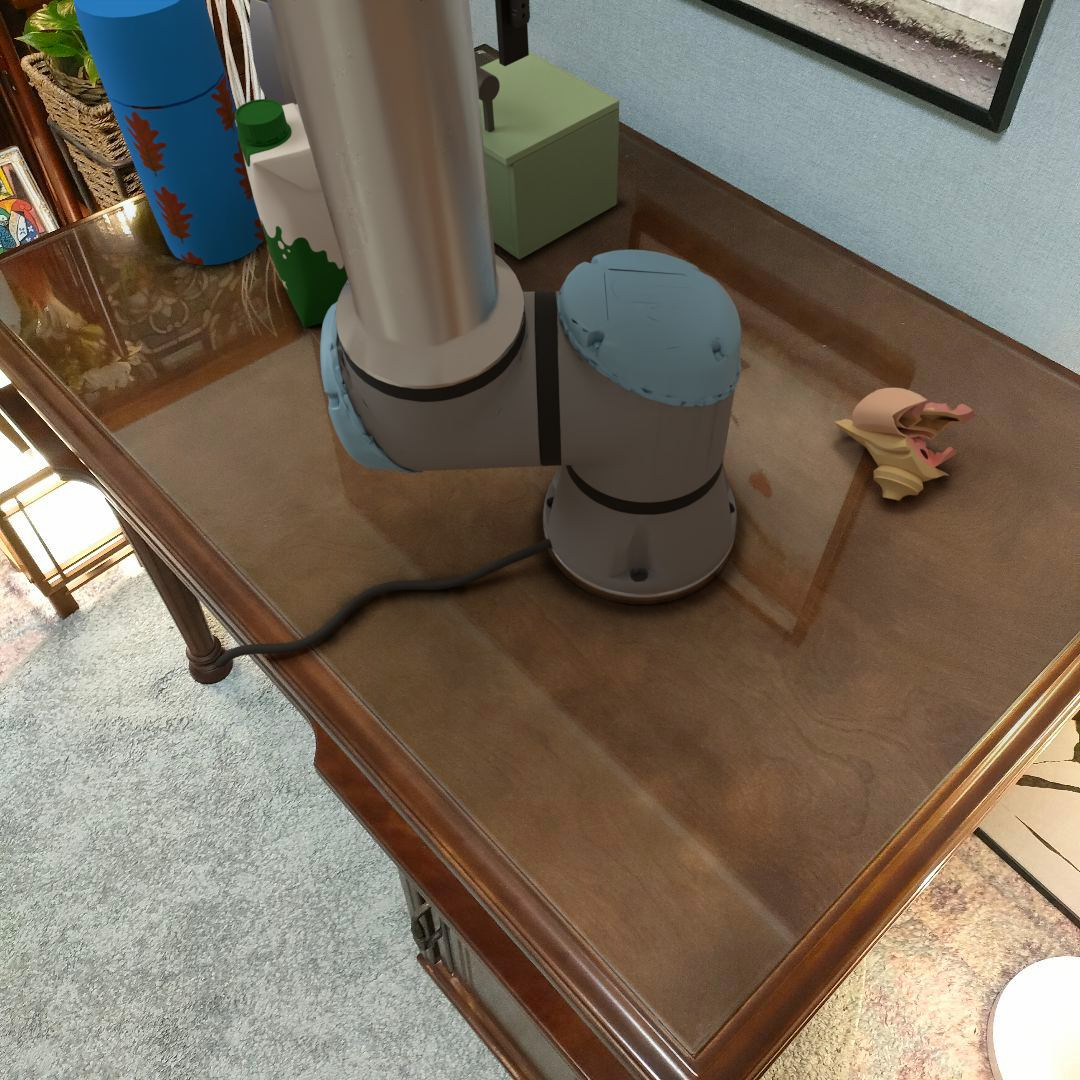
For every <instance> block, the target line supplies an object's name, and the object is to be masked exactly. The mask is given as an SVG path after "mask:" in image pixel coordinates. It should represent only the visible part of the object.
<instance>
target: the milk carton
mask: <svg viewBox="0 0 1080 1080" xmlns="http://www.w3.org/2000/svg"><path fill="white" fill-rule="evenodd" d="M236 109H237V110H236V112H235V121H236V125H237V130H238V135H239V141H240V146H241V149H242V151H243V156H244V160H245V165H246V169H247V173H248V177H249V181H250V185H251V189H252V193H253V197H254V200H255V204H256V207H257V211H258V214H259V217H260V221H261V224H262V227H263V231H264V234H265V238H264V239H265V240H266V244H267V248H268V251H269V254H270V257H271V259H272V262H273V264H274V266H275V269H276V272H277V275H278V277H279V279H280V282H281V283H282V285H283V288H284V289H285V291H286V293H287V296H288V298H289V300H290V302H291V304H292V306H293V309H294V310H295V312H296V314H297V317H298V318H299V320H300V322H301V324H302V326H303V328H304V329H306V328H309V327H313V326H317V325H321V324H323V321H324V318H325V316H326V313H327V312H328V310H329V308H330V307H331V306H332V305H333V304H335V303H336V302H338V298H339V296H340V293H341V291H342V289H343V287H344V285H345V283H346V282H347V280H348V277H347V273H346V270H345V266H344V263H343V259H342V256H341V252H340V249H339V245H338V242H337V239H336V235H335V232H334V228H333V225H332V221H331V218H330V215H329V211H328V208H327V204H326V201H325V197H324V194H323V191H322V187H321V184H320V180H319V177H318V173H317V170H316V167H315V163H314V160H313V156H312V153H311V149H310V146H309V143H308V139H307V136H306V132H305V129H304V125H303V122H302V118H301V115H300V112H299V108H298V105H297V104H296V105H295V104H294V103H291V104H287V105H283V106H282V105H281V104H280V103H278V102H277V101H274V100H270V99H267V98H260V99H253V100H250V101H247V102H244V103H243V104H241V105H240V106H238V107H237V108H236Z"/></svg>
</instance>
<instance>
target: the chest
mask: <svg viewBox="0 0 1080 1080" xmlns="http://www.w3.org/2000/svg"><path fill="white" fill-rule="evenodd" d="M619 132H620V107H619V108H618V109H616V110H614V111H612V112H610V113H608V114H606V115H604V116H602V117H600V118H598V119H596V120H594V121H593V122H591V123H589V124H587V125H585V126H583V127H581V128H579V129H577V130H575V131H573V132H571V133H569V134H568V135H566V136H564V137H562V138H560V139H558V140H556V141H554V142H552V143H550V144H548V145H546V146H544V147H542V148H541V149H539V150H537V151H535V152H533V153H531V154H529V155H527V156H525V157H523V158H521V159H519V160H517V161H516V162H514V163H512V164H510V165H508V166H506V165H504V164H503V163H501V162H499V161H498V160H496V159H495V158H493V157H492V156H490V155H488V154H487V153H485V152H484V153H485V162H486V172H487V182H488V192H489V202H490V211H491V221H492V231H493V241H494V244H496V245H498V246H499V247H501V248H502V249H503V250H504V251H506V252H507V253H509V254H510V255H512V256H513V257H515V258H516V259H518V260H521V259H524V257H526V256H528V255H530V254H532V253H533V252H535V251H537V250H539V249H541V248H542V247H544V246H546V245H548V244H549V243H552V242H553V241H554V240H557V239H559V238H560V237H562V236H564V235H565V234H567V233H569V232H571V231H573V230H574V229H576V228H578V227H579V226H582V225H583V224H585V223H586V222H588V221H590V220H592V219H593V218H595V217H597V216H599V215H600V214H602V213H604V212H606V211H608V210H609V209H611V208H613V207H615V206H617V204H618V176H619V175H618V174H619V171H618V170H619V137H620V136H619V135H620V133H619Z"/></svg>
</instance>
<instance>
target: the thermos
mask: <svg viewBox="0 0 1080 1080" xmlns="http://www.w3.org/2000/svg"><path fill="white" fill-rule="evenodd" d="M72 3H73V6H74V10H75V13H76V18H77V22H78V25H79V26H80V30H81V33H82V35H83V38H84V40H85V43H86V45H87V48H88V50H89V53H90V56H91V58H92V60H93V64H94V66H95V68H96V71H97V73H98V76H99V78H100V81H101V84H102V86H103V88H104V91H105V93H106V96H107V99H108V101H109V104H110V107H111V110H112V112H113V114H114V117H115V119H116V121H117V125H118V126H119V129H120V132H121V134H122V137H123V140H124V142H125V145H126V147H127V150H128V153H129V155H130V158H131V160H132V163H133V164H134V167H135V171H136V173H137V175H138V178H139V180H140V183H141V185H142V188H143V191H144V194H145V195H146V199H147V201H148V203H149V206H150V209H151V211H152V213H153V216H154V219H155V220H156V223H157V225H158V227H159V229H160V231H161V233H162V236H163V238H164V240H165V243H166V244H167V247H168V248H169V250H170V252H171V253H172V254H173V255H174V257H176V258H177V259H179V260H181V261H183V262H185V263H186V264H191V265H199V266H215V265H222V264H226V263H230V262H234V261H238V260H239V259H242V258H243V257H245V256H247V255H249V254H250V253H252V252H254V251H255V250H256V249H257V248H258V247H259V246H260V245H261V244H262V243H263V242H264V240H265V239H266V238H265V234H264V231H263V227H262V224H261V221H260V217H259V214H258V211H257V207H256V204H255V200H254V197H253V193H252V189H251V185H250V181H249V177H248V173H247V169H246V165H245V160H244V156H243V151H242V149H241V146H240V141H239V135H238V130H237V125H236V121H235V112H236V110H237V109H238V108H237V106H236V102H235V100H234V96H233V93H232V88H231V86H230V82H229V79H228V75H227V72H226V68H225V65H224V61H223V57H222V54H221V51H220V47H219V45H218V40H217V37H216V34H215V30H214V26H213V23H212V20H211V17H210V13H209V9H208V6H207V3H206V0H73V2H72Z"/></svg>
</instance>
